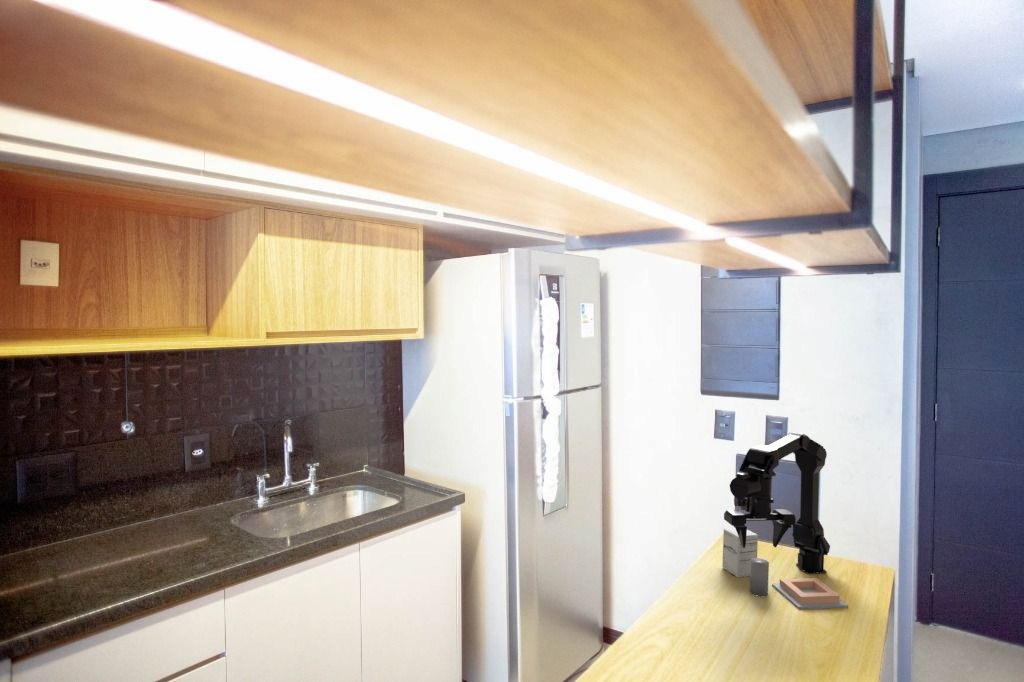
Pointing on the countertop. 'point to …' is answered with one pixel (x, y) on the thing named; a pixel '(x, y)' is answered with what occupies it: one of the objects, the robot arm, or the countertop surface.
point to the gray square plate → (809, 593)
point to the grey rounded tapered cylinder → (759, 576)
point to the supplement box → (738, 552)
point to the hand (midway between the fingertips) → (758, 547)
